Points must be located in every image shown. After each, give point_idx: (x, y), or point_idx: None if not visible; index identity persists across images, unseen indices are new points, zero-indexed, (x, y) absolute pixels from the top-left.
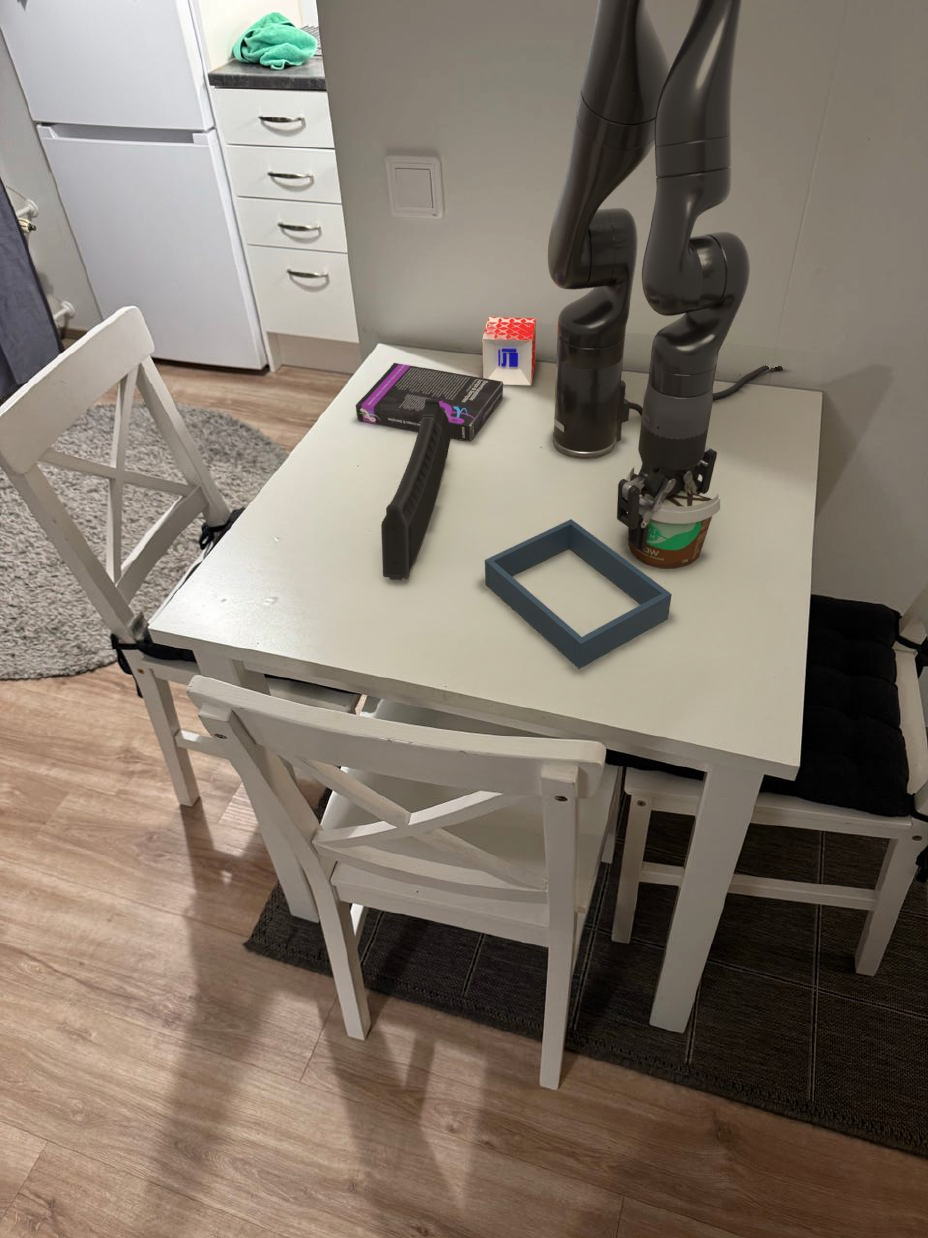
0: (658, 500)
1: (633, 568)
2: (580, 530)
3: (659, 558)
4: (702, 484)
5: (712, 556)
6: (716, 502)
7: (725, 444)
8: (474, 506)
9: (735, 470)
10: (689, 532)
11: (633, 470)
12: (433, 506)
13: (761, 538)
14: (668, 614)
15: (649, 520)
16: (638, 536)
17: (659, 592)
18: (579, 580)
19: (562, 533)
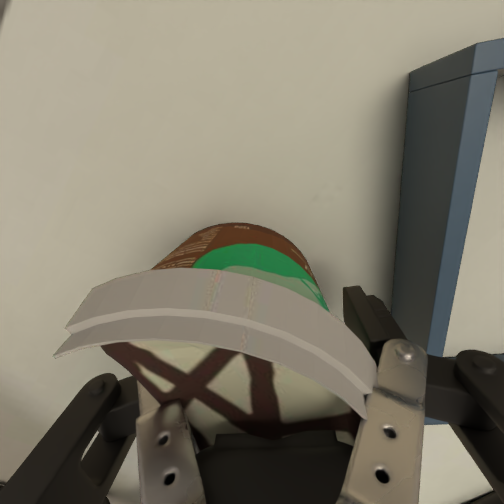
0: (418, 461)
1: (457, 230)
2: None
3: (298, 256)
4: (98, 417)
5: (168, 220)
6: (91, 318)
7: (13, 422)
8: (435, 476)
9: (19, 378)
10: (240, 263)
11: None
12: (491, 499)
13: (39, 217)
14: (419, 68)
15: (385, 359)
16: (387, 321)
17: (492, 84)
18: (456, 288)
19: None
